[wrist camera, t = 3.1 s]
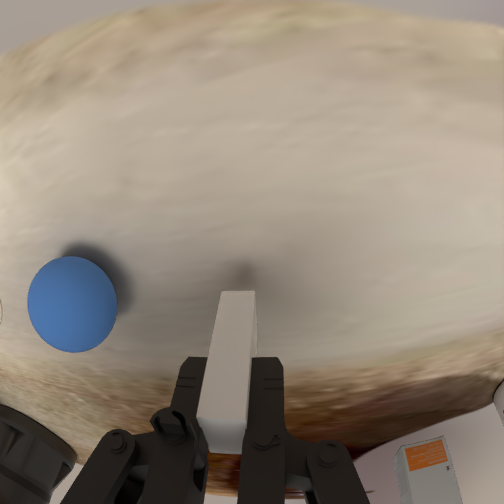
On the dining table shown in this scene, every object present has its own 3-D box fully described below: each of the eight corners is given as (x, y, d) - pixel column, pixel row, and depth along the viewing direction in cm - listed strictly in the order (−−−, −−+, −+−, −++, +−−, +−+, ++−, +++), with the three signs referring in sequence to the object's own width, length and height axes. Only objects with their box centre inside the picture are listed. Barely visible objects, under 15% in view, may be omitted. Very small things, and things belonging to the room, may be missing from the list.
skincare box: (444, 433, 28) (467, 516, 18) (433, 448, 30) (452, 525, 20) (399, 445, 29) (417, 535, 18) (391, 459, 31) (405, 541, 20)
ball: (96, 322, 20) (64, 380, 16) (43, 265, 18) (-2, 315, 14) (147, 291, 19) (116, 357, 14) (87, 222, 17) (35, 275, 12)
